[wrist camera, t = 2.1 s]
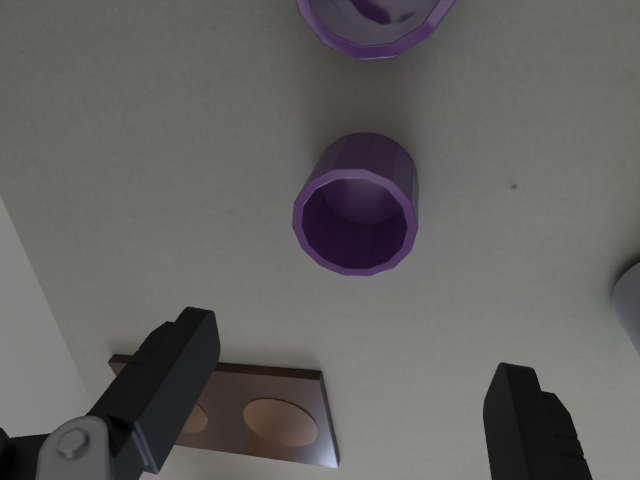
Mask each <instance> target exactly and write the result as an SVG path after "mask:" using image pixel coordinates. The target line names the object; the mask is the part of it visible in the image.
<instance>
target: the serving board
mask: <svg viewBox="0 0 640 480" xmlns="http://www.w3.org/2000/svg"><path fill="white" fill-rule="evenodd" d="M131 357H132V356H124V355H113V356H112V357H111V358H110V360H109V361H108V364H109V365H110V367H111V368H112V370H113V372H114V373H115V375H116V377H117V375H118V374H119V373H120V372H121V370H122V369H123V368H124V366H125V365H126V364H127V363H129V362H130V359H131ZM174 445H179V446H186V447H193V448H200V449H207V450H214V451H221V452H228V453H235V454H242V455H249V456H256V457H263V458H270V459H277V460H284V461H291V462H298V463H305V464H312V465H319V466H326V467H333V468H338V467H339V461H340V458H339V453H338V448H337V444H336V439H335V434H334V429H333V424H332V420H331V415H330V410H329V405H328V401H327V396H326V391H325V386H324V381H323V377H322V372H321V371H313V370H300V369H287V368H275V367H262V366H250V365H237V364H225V363H217V365H216V367H215V369H214V371H213V373H212V375H211V377H210V378H209V380H208V382H207V384H206V386H205V388H204V390H203V392H202V393H201V395H200V397H199V399H198V401H197V403H196V405H195V406H194V408H193V410H192V412H191V414H190V416H189V418H188V419H187V421H186V423H185V425H184V427H183V429H182V431H181V432H180V434H179V436H178V438H177V440H176V442H175V444H174Z"/></svg>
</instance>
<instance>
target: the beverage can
mask: <svg viewBox="0 0 640 480" xmlns="http://www.w3.org/2000/svg"><path fill="white" fill-rule="evenodd" d="M611 303H612V308H613V310H614V313H615V315H616V316H617V318H618V320H619V321H620V323H621V325H622V326H623V328H624V330H625V331H626V333H627V335H628V337H629V338H630V340H631V342H632V343H633V345H634V347H635V348H636V350H637V352H638V353H639V355H640V262H639V263H637V264H636V265H634V266H633V267H631V268H630V269H629V270H628V271H626V272H625V273H624V274H623V275H622V277H621V278H620V279H619V280H618V282H617V283H616V285H615V287H614V289H613V292H612V298H611Z"/></svg>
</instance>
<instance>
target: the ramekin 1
mask: <svg viewBox="0 0 640 480" xmlns="http://www.w3.org/2000/svg"><path fill="white" fill-rule="evenodd" d="M455 1H456V0H296V3H297V7H298V10H299V13H300V16H302V19H303V20H304V21H305V22H306V23H307V25H308V26H309V27H310V28H311V29H312V30H313V32H314V33H315V34H316V35H317V36H318V37H319V39H320V40H321V41H322V42H323V43H324V44H325V45H326V46H327V47H329V48H332V49H334V50H336V51H339V52H341V53H343V54H346V55H348V56H351V57H353V58H355V59H358V60H359V59H360V60H367V59H378V58H389V57H395V56H398V55H400V54H401V53H403V52H405V51H406V50H408V49H410V48H411V47H413V46H414V45H416V44H418V43H419V42H421V41H423V40H424V39H426V38H428V37H429V36H430V35H431V34H432V33H433V32H434V30H435V29H436V28H437V26H438V25H439V23H440V22H441V21H442V19H443V18H444V16H445V15H446V14H447V12H448V11H449V9H450V8H451V7H452V5H453V4H454V2H455Z"/></svg>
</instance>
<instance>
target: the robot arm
mask: <svg viewBox="0 0 640 480" xmlns="http://www.w3.org/2000/svg"><path fill="white" fill-rule="evenodd" d="M219 356H220V340H219V334H218V329H217V323H216V317H215V313H214V312H213V311H211V310H206V309H200V308H194V307H186V308H185V309H184V310H183V311H182V313H181V314H180V315H179V317H178V318H177V319H176V321H175V322H169V321H167V322H165V323H164V324H162V325H161V326H159V327H158V328H157V329H155V330H154V331H152V332H151V333H150V334H149V336H148V337H147V338H146V339H145V341H144V342H143V343H142V345H141V346H140V347H139V350H138V351H136V352H135V354H134V355H133V356H132V357H131V359H130V362H129V363H127V364H126V365H125V366H124V368H123V369H122V370H121V372H120V373H119V374H118V375H117V377H116V378H115V379H114V381H113V382H112V383H111V384H110V386H109V387H108V388H107V390H106V391H105V392H104V394H103V395H102V396H101V397H100V399H99V400H98V401H97V403H96V404H95V405H94V406H93V408H92V409H91V410H90V411H89V412H88V413H87V414H86V415H85V416H81V417H78V418H75V419H72V420H69V421H68V422H66V423H64V424H63V425H61V426H59V427H58V428H57V429H56V430H54V431H53V432H52V433H49V434H41V435H32V436H23V437H15V438H9V436H8V435H7V434H6V432H5V431H4V430H3V429H2V428H1V427H0V480H139V478H140V476H141V474H142V473H143V471H145V472H149V473H153V474H157V475H158V473H159V472H160V470H161V468H162V466H163V464H164V462H165V460H166V459H167V457H168V455H169V453H170V451H171V449H172V447H173V446H174V444H175V442H176V440H177V438H178V436H179V434H180V432H181V431H182V429H183V427H184V425H185V423H186V421H187V419H188V418H189V416H190V414H191V412H192V410H193V408H194V406H195V405H196V403H197V401H198V399H199V397H200V395H201V393H202V392H203V390H204V388H205V386H206V384H207V382H208V380H209V378H210V377H211V375H212V373H213V371H214V369H215V367H216V365H217V363H218V360H219ZM483 421H484V428H485V435H486V442H487V450H488V457H489V464H490V471H491V478H492V480H593V479H592V476H591V474H590V471H589V468H588V465H587V462H586V459H584V457H583V455H584V453H583V450H582V447H581V444H580V442H579V440H577V433H576V430H575V427H574V424H573V421H572V418H571V415H570V413H569V412H568V411H567V409H566V408H565V407H564V405H563V404H562V403H561V401H560V400H559V399H558V397H557V396H556V395H555V394H554V393H549V392H544V391H541V389H540V385H539V382H538V378H537V375H536V372H535V370H534V369H533V368H531V367H525V366H520V365H514V364H508V363H502V362H501V363H500V364H499V365H498V367H497V370H496V372H495V375H494V377H493V379H492V382H491V384H490V387H489V389H488V392H487V394H486V397H485V400H484V407H483Z"/></svg>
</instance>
